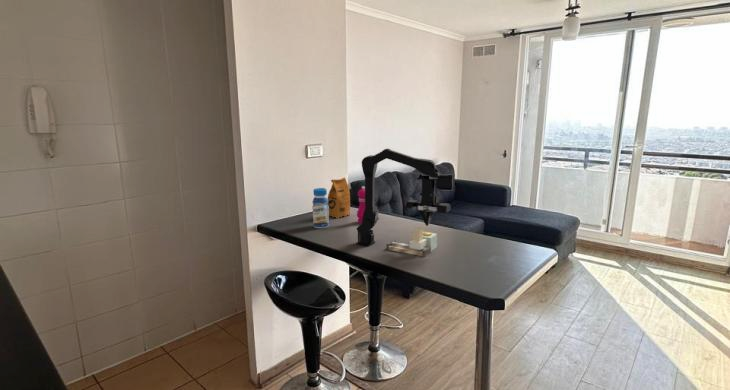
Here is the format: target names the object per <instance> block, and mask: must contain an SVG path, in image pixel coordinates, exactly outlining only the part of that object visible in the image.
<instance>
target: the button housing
mask: <svg viewBox="0 0 730 390" xmlns="http://www.w3.org/2000/svg"><path fill="white" fill-rule="evenodd" d="M424 232H425V231H423V233H424ZM427 232H428V233H431V235H430V236H423V239H427V245H426V246H425V248H427V247H428V246H429V247H431V252H432V251H433V250H435V249H436V248H438V233H434V232H429V231H427Z"/></svg>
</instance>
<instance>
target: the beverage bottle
mask: <svg viewBox="0 0 730 390" xmlns="http://www.w3.org/2000/svg"><path fill="white" fill-rule="evenodd" d="M327 194H328V193H327V188H323V187H318V188H317V187H316V188H313V196H314V197H313V200H312V222H313V223H312V224H313V225H312V226H313V228H315V229H326V228H328V227H330V222H329V221H330V219H329V218H330V217H329V210H328V209H329V206H328V197H327V196H328V195H327Z"/></svg>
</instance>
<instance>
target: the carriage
mask: <svg viewBox="0 0 730 390" xmlns="http://www.w3.org/2000/svg"><path fill="white" fill-rule="evenodd" d="M423 232H424V227H415V228H414V229H413V239H411V240H410V241H409V245H410V248H413V249H419V250H421V249H423V248H424V247H425V246H426V245H427V239H423Z"/></svg>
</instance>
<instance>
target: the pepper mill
mask: <svg viewBox="0 0 730 390" xmlns="http://www.w3.org/2000/svg"><path fill="white" fill-rule="evenodd" d="M357 196H358V201H359V205H358V209H357V212H356V217H357V223H358V224H360V223H362V217H363V213H364V210H365V185H363V186H361V189H359V190H358V191H357Z"/></svg>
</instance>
